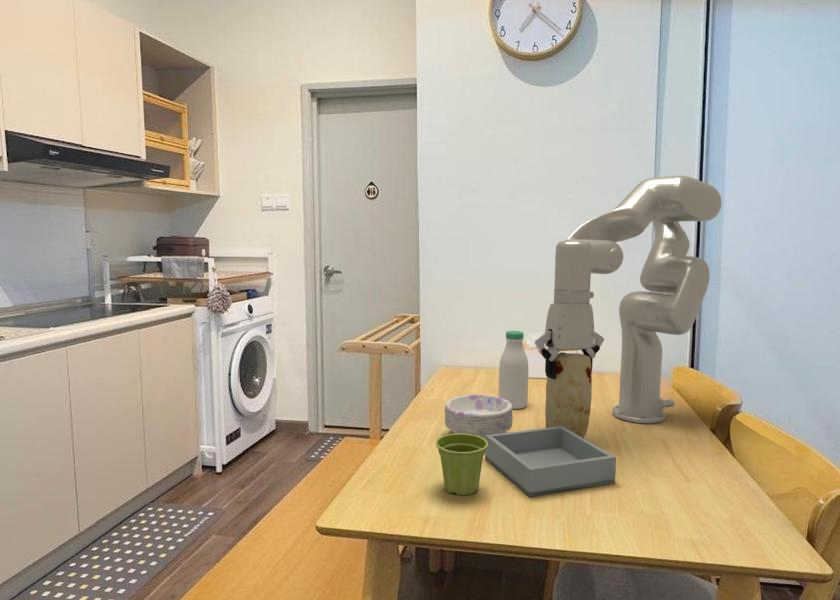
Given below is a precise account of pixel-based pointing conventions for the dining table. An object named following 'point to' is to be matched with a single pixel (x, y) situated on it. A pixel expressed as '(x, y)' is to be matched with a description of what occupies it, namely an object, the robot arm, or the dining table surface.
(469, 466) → the plant pot
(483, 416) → the paper bowls
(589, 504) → the dining table surface
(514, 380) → the milk bottle
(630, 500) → the dining table surface
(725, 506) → the dining table surface
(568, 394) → the food model
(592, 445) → the bin
